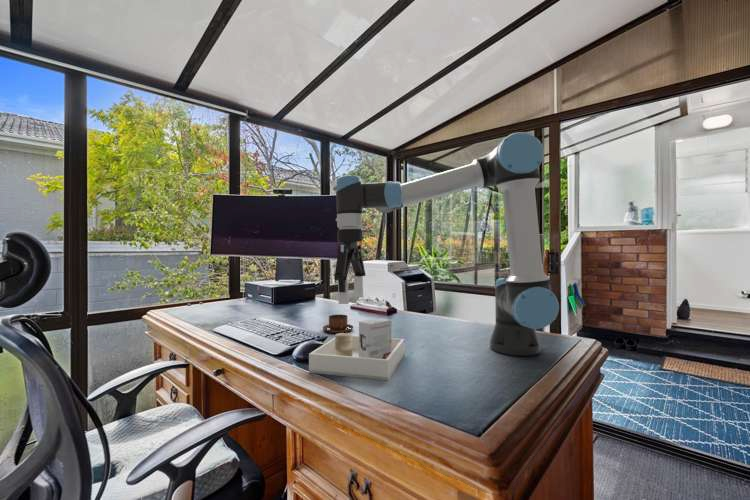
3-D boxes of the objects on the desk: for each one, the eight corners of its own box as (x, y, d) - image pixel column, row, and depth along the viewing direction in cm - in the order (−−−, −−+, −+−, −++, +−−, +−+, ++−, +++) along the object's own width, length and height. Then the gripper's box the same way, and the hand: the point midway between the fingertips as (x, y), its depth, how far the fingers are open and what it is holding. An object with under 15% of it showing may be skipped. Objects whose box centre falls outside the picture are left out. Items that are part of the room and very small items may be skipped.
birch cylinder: (354, 357, 105) (354, 333, 105) (349, 362, 100) (349, 337, 100) (338, 355, 106) (338, 332, 106) (332, 361, 101) (332, 336, 101)
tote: (404, 355, 109) (404, 339, 109) (388, 380, 88) (388, 360, 88) (339, 350, 115) (338, 334, 115) (309, 372, 94) (308, 353, 94)
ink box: (381, 357, 105) (381, 317, 104) (392, 361, 101) (392, 319, 101) (357, 363, 99) (357, 321, 99) (368, 368, 95) (368, 324, 95)
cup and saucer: (359, 332, 140) (359, 316, 140) (333, 337, 132) (333, 320, 132) (342, 326, 149) (342, 312, 149) (317, 331, 142) (317, 315, 142)
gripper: (351, 231, 118) (353, 294, 118) (320, 227, 94) (322, 306, 94) (373, 230, 116) (375, 294, 116) (347, 225, 92) (349, 307, 92)
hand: (351, 300), depth 105 cm, fingers open, 13 cm apart
